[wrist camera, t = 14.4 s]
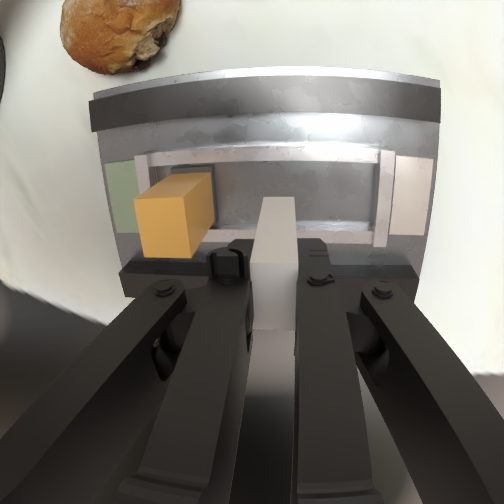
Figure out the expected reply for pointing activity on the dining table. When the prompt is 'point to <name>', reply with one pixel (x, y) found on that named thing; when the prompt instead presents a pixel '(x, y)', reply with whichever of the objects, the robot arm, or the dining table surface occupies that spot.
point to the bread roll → (116, 32)
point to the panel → (280, 163)
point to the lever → (177, 212)
